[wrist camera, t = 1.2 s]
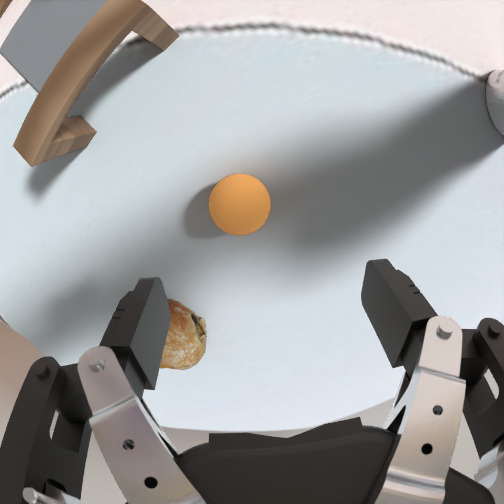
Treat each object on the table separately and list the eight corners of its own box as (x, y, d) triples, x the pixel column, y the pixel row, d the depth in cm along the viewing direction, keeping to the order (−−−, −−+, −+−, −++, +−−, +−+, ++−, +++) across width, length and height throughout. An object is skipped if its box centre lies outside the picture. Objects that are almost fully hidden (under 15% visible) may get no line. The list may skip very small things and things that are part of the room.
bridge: (179, 35, 19) (147, 4, 11) (86, 146, 23) (31, 167, 15) (159, 20, 18) (120, -12, 10) (70, 130, 22) (12, 146, 14)
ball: (280, 196, 27) (287, 216, 22) (240, 231, 28) (238, 258, 24) (241, 156, 25) (239, 167, 20) (201, 195, 26) (190, 215, 22)
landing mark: (112, -3, 16) (112, -3, 15) (40, 92, 20) (39, 92, 20) (59, -32, 11) (58, -32, 11) (-1, 50, 15) (-2, 50, 15)
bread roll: (214, 323, 39) (231, 352, 32) (164, 366, 38) (172, 400, 30) (168, 275, 35) (174, 298, 28) (115, 324, 34) (111, 355, 27)
